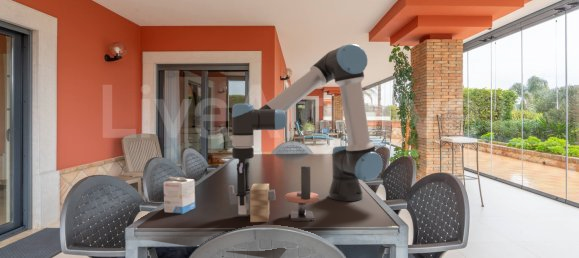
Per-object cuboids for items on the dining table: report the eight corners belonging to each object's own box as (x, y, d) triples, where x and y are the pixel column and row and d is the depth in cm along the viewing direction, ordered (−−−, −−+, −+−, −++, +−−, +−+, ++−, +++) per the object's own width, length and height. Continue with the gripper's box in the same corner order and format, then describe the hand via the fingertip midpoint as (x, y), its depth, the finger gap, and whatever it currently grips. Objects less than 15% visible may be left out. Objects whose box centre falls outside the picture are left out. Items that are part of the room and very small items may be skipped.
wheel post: (312, 213, 121) (312, 196, 120) (314, 220, 113) (314, 202, 112) (290, 213, 121) (290, 196, 120) (291, 220, 113) (290, 202, 112)
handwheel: (281, 195, 121) (281, 163, 120) (312, 193, 124) (312, 162, 123) (290, 204, 109) (290, 168, 109) (323, 201, 112) (323, 166, 112)
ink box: (195, 208, 129) (195, 174, 128) (182, 214, 121) (181, 178, 120) (177, 206, 132) (177, 173, 131) (163, 212, 124) (162, 177, 123)
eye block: (269, 213, 122) (269, 183, 121) (267, 221, 112) (267, 189, 111) (253, 213, 121) (253, 183, 121) (250, 222, 111) (250, 189, 111)
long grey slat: (275, 197, 118) (273, 180, 118) (275, 200, 115) (273, 182, 114) (231, 202, 118) (229, 185, 118) (230, 204, 115) (228, 186, 114)
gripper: (236, 144, 124) (236, 205, 125) (227, 149, 107) (228, 219, 107) (255, 144, 125) (256, 204, 125) (250, 149, 107) (251, 219, 107)
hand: (243, 211), depth 116 cm, fingers open, 5 cm apart
